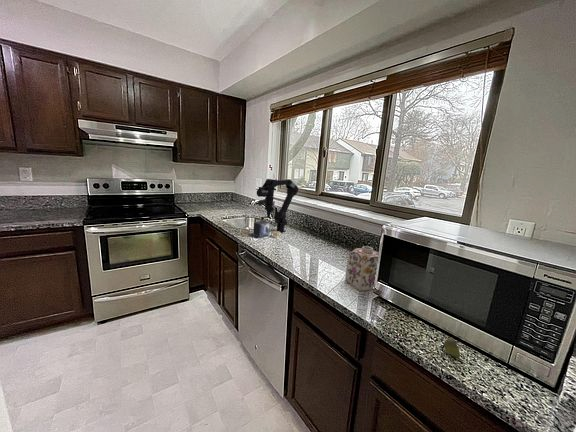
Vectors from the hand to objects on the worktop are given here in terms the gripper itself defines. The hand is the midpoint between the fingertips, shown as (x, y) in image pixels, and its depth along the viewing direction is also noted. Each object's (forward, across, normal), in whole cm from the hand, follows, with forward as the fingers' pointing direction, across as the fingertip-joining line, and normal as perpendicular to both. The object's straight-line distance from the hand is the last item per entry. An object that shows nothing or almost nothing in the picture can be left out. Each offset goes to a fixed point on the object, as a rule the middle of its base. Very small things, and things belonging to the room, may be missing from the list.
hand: (268, 217), depth 182 cm
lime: (+13, +121, +53) cm, 133 cm away
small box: (+13, +7, -4) cm, 16 cm away
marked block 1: (+13, +7, -15) cm, 21 cm away
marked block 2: (+13, +7, +7) cm, 16 cm away
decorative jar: (+13, +77, +43) cm, 90 cm away
